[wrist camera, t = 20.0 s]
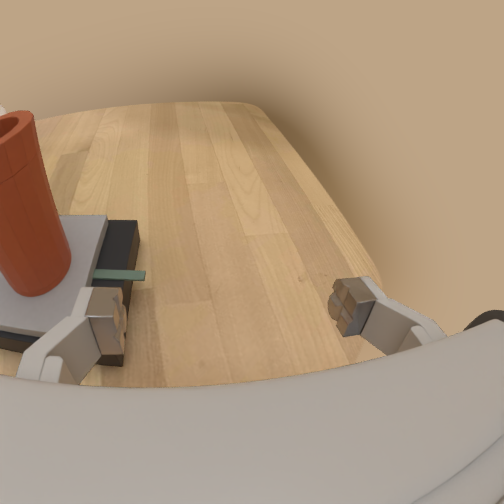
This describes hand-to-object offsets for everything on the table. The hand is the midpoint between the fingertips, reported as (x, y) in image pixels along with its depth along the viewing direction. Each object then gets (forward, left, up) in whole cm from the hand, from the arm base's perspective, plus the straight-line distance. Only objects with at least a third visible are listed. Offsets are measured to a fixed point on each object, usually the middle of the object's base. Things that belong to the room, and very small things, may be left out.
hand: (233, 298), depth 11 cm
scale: (+7, +14, -11) cm, 18 cm away
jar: (+7, +14, -7) cm, 17 cm away
